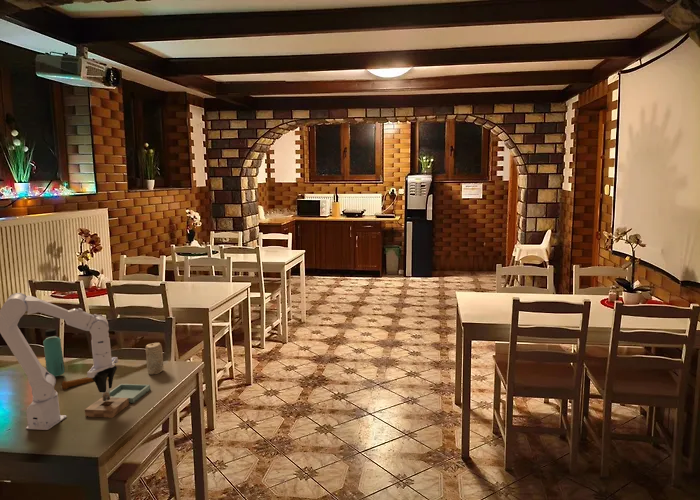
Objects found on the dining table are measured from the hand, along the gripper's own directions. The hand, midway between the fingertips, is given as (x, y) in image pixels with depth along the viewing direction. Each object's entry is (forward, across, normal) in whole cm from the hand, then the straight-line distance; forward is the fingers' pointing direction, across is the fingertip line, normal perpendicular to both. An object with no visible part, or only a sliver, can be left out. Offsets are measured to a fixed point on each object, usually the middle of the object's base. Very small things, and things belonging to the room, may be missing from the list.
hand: (105, 389), depth 185 cm
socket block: (+8, 0, 0) cm, 8 cm away
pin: (+3, 0, 0) cm, 3 cm away
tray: (+8, +12, 0) cm, 14 cm away
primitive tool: (+8, +24, +24) cm, 35 cm away
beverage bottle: (+8, +27, +40) cm, 49 cm away
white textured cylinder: (+8, +35, +1) cm, 36 cm away
